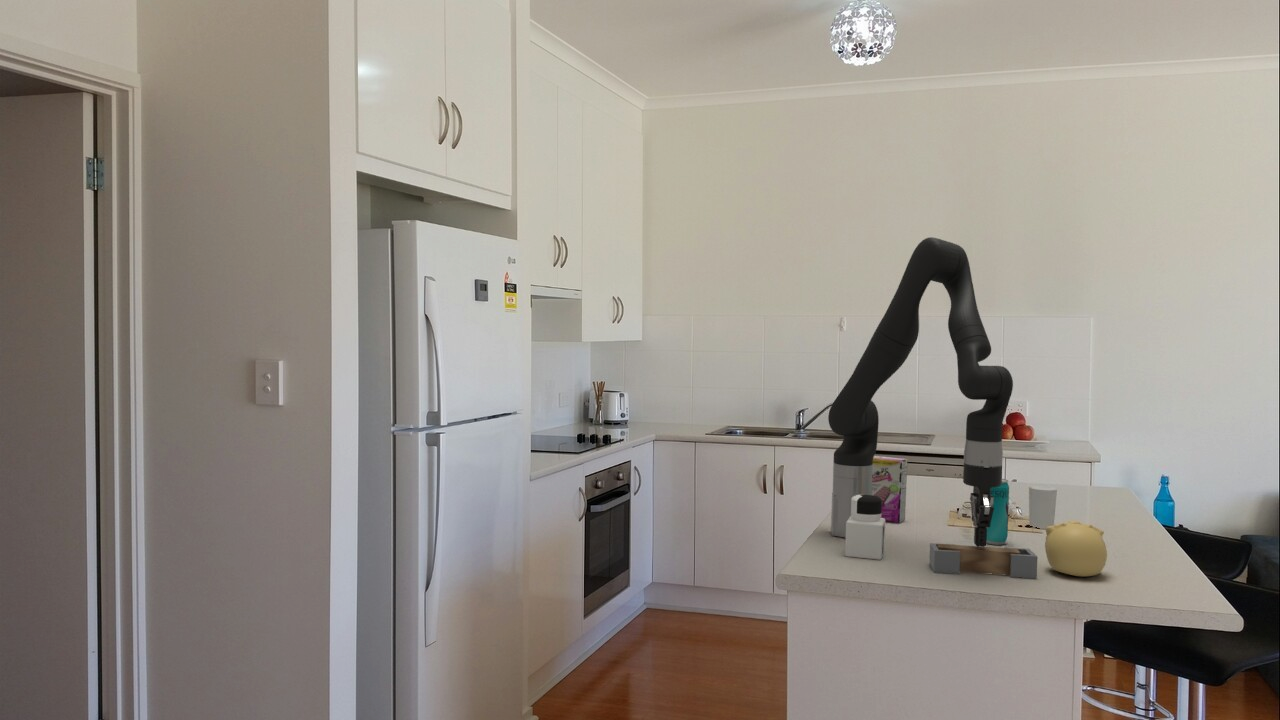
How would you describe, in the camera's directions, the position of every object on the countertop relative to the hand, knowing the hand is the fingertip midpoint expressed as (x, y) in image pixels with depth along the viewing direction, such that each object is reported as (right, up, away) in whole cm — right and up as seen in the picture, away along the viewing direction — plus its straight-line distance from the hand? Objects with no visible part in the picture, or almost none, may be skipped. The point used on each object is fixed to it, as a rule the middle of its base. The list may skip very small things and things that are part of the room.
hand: (980, 545), depth 199 cm
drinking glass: (+32, -5, +47) cm, 58 cm away
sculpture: (+20, -6, 0) cm, 21 cm away
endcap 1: (-7, -5, +1) cm, 9 cm away
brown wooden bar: (-1, -6, 0) cm, 6 cm away
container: (-21, -5, +13) cm, 25 cm away
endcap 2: (+8, -6, -1) cm, 10 cm away
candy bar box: (-7, -4, +52) cm, 53 cm away
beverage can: (+13, -5, +27) cm, 31 cm away
